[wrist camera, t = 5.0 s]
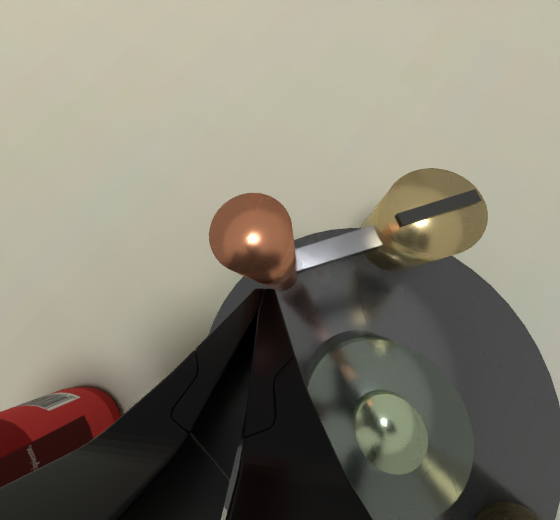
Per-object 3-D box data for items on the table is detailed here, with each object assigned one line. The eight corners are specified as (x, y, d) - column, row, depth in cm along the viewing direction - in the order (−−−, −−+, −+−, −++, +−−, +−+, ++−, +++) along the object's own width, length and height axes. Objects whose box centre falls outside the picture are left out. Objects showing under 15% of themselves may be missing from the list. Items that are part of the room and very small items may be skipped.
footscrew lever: (410, 201, 14) (567, 54, 6) (439, 259, 13) (681, 184, 5) (256, 249, 14) (195, 179, 6) (272, 309, 13) (226, 321, 5)
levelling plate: (625, 561, 10) (946, 818, 5) (212, 635, 11) (139, 907, 6) (445, 201, 15) (519, 150, 10) (168, 278, 16) (107, 267, 11)
